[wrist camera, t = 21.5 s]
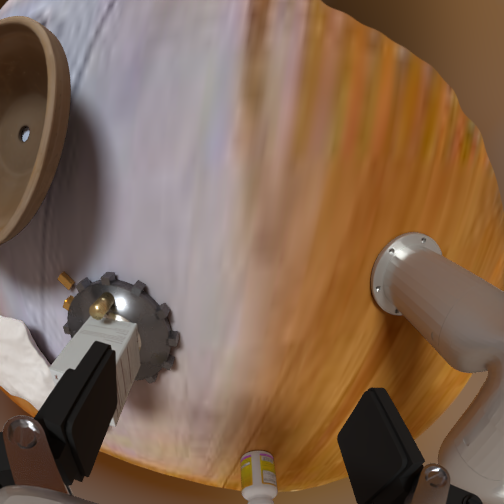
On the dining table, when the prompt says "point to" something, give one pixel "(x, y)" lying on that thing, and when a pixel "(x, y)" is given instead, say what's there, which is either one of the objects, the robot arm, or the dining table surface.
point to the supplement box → (121, 341)
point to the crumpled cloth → (23, 364)
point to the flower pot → (29, 118)
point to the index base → (66, 280)
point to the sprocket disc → (126, 318)
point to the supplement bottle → (258, 477)
